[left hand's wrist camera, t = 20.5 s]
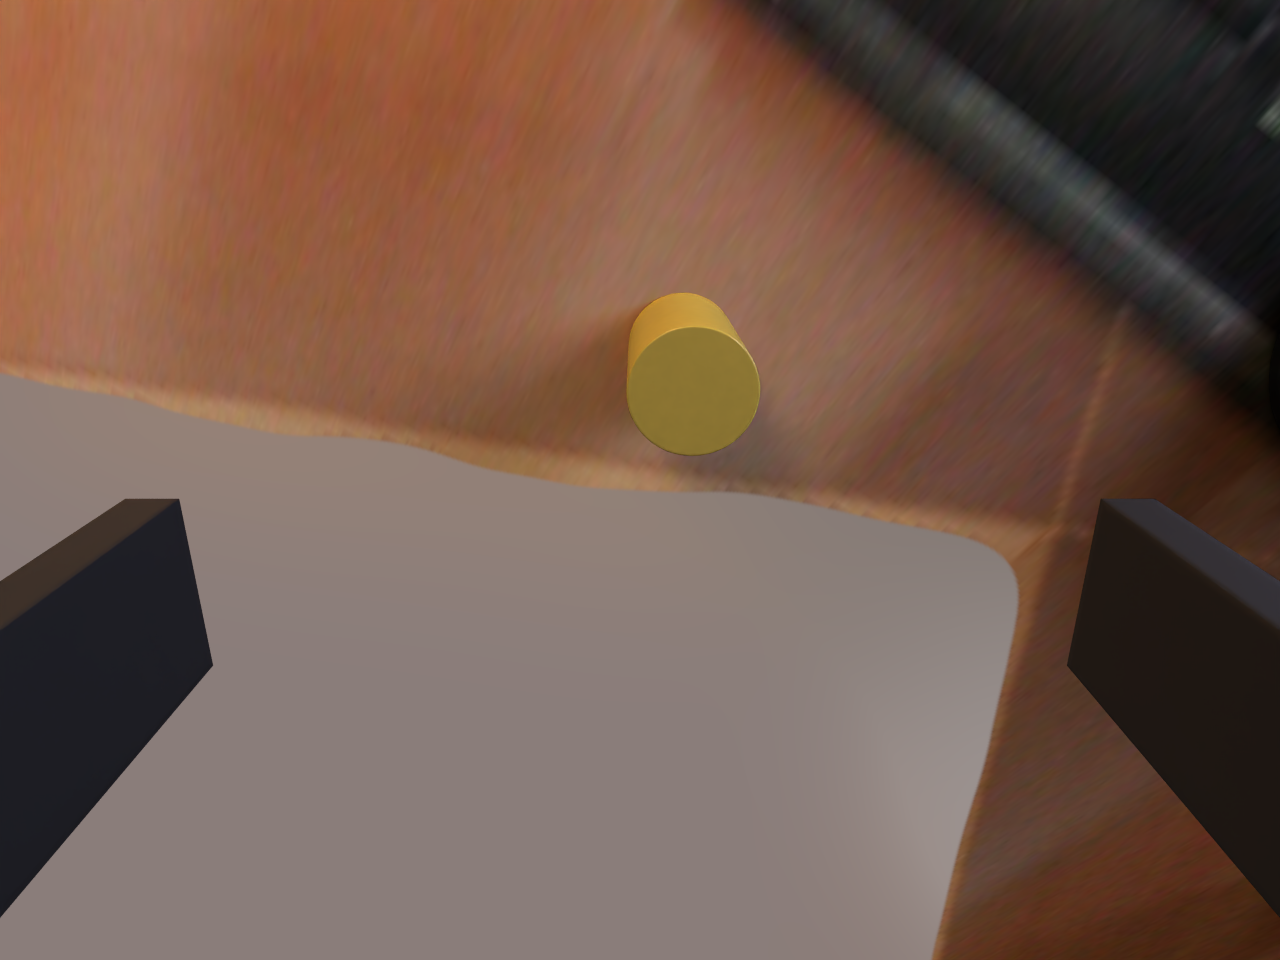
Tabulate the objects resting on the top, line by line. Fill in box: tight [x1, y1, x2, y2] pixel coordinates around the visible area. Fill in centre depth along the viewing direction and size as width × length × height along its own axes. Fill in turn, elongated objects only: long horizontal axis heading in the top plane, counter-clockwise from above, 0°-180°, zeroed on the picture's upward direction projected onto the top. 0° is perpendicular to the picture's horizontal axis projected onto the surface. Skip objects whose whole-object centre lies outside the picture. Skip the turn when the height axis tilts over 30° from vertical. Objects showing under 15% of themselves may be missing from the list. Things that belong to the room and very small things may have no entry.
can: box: [626, 293, 760, 456], centre depth 42 cm, size 6×6×10 cm
